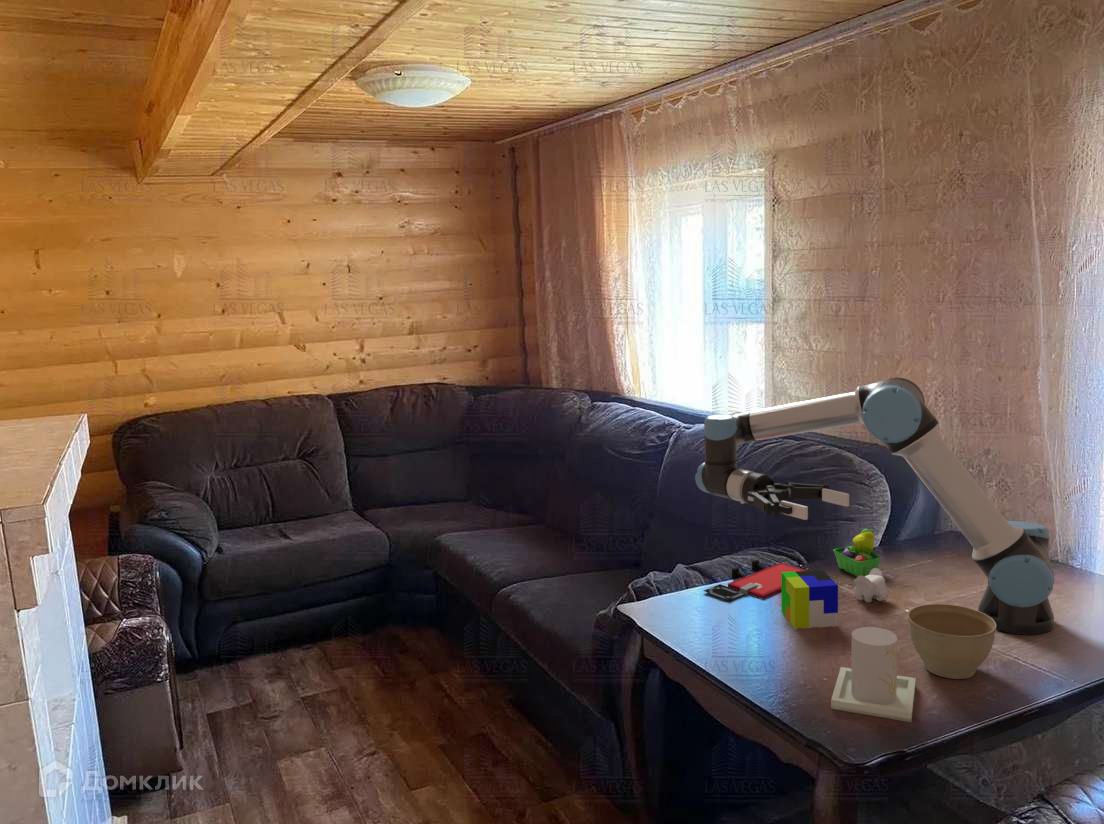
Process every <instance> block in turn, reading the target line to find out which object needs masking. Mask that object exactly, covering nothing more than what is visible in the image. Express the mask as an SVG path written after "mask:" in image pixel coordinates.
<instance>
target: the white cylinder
mask: <svg viewBox="0 0 1104 824" xmlns="http://www.w3.org/2000/svg"><path fill="white" fill-rule="evenodd" d="M851 669H852V671H851V693H852V695H853V697H854V698H856V699H857V700H859V701H861V702H866V703H873V704H879V705H887V704H891V703H893V702H894V701H895V700H896V694H897V675H898V636H897V635H896V633H895V632H893V631H891V630H889V629H885V628H881V627H877V626H865V627H864V626H863V627H858V628H856V629H854V630H852V632H851Z"/></svg>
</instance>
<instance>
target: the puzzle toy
mask: <svg viewBox="0 0 1104 824" xmlns="http://www.w3.org/2000/svg"><path fill="white" fill-rule="evenodd" d="M780 593H781V612H783V613H782V614H783V616H784V617H785V616H786V617H787V618H788V619H787V618H786V617H785V618H786V619H787V620H789V621H790V622H789V621H788V622H789V623H790V625H791V626H792V625H793V626H792V628H794V629H795V628H802V629H811V627H817V628H827V627H828V628H829V627H830V626H831V627H838V626H839V585H838V583H837V582H835V581H834V580H833V579H832V578H831V576H829V574H828V573H826V571H824V569H812V570H807V571H795V572H781V592H780ZM808 627H809V628H808Z"/></svg>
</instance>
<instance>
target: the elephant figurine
mask: <svg viewBox="0 0 1104 824" xmlns="http://www.w3.org/2000/svg"><path fill="white" fill-rule="evenodd" d="M853 584H854V588H853V591H854V595H855V598H856V599H857V600H858V601H866V602H865V603H871V602H873V599H874V600H875V599H876V601H879V602H882V601H883V600H885V599H887V598H888V596H889V592H890V593H891V594H892V595H894V593H893V591H892V590H891V589H890V588H889V587H887V584H886V579H885V578H884V576H883V573H882V571H881V569H880V568H873V569H872V570H871V571H870V574H869V575H867V576H865V577H864V576H862V575H860V576H858V577H856V578H855V579H853Z"/></svg>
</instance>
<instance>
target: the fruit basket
mask: <svg viewBox="0 0 1104 824" xmlns="http://www.w3.org/2000/svg"><path fill="white" fill-rule="evenodd" d="M875 539H876V537H875V534H874V533H873V530H871V529H868V528H864V529H862V530H861V532H860V534H857V535H856V536H855V537H854V538H853V539H852V543H853V545H850V546H849V545H848V546H845V547H843V546H842V547H838V548H833V554H834V555H835V558H836V563H837V566H838V568H839V569H841V570H843V569H844V570H843V571H845V572H847V573H849V574H850V573H851V575H852V574H853V576H855V577H856V578H857V577H858V576H860V575H862V576H864V577H865V576H867V575H869V574H870V571H871V570H872V569H873V568H878V567H879V564H880V562H881V560H882V556H880V555H878V554H876V553H874V552H872V551H873V549H874V548H875ZM878 569H879V568H878Z"/></svg>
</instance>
